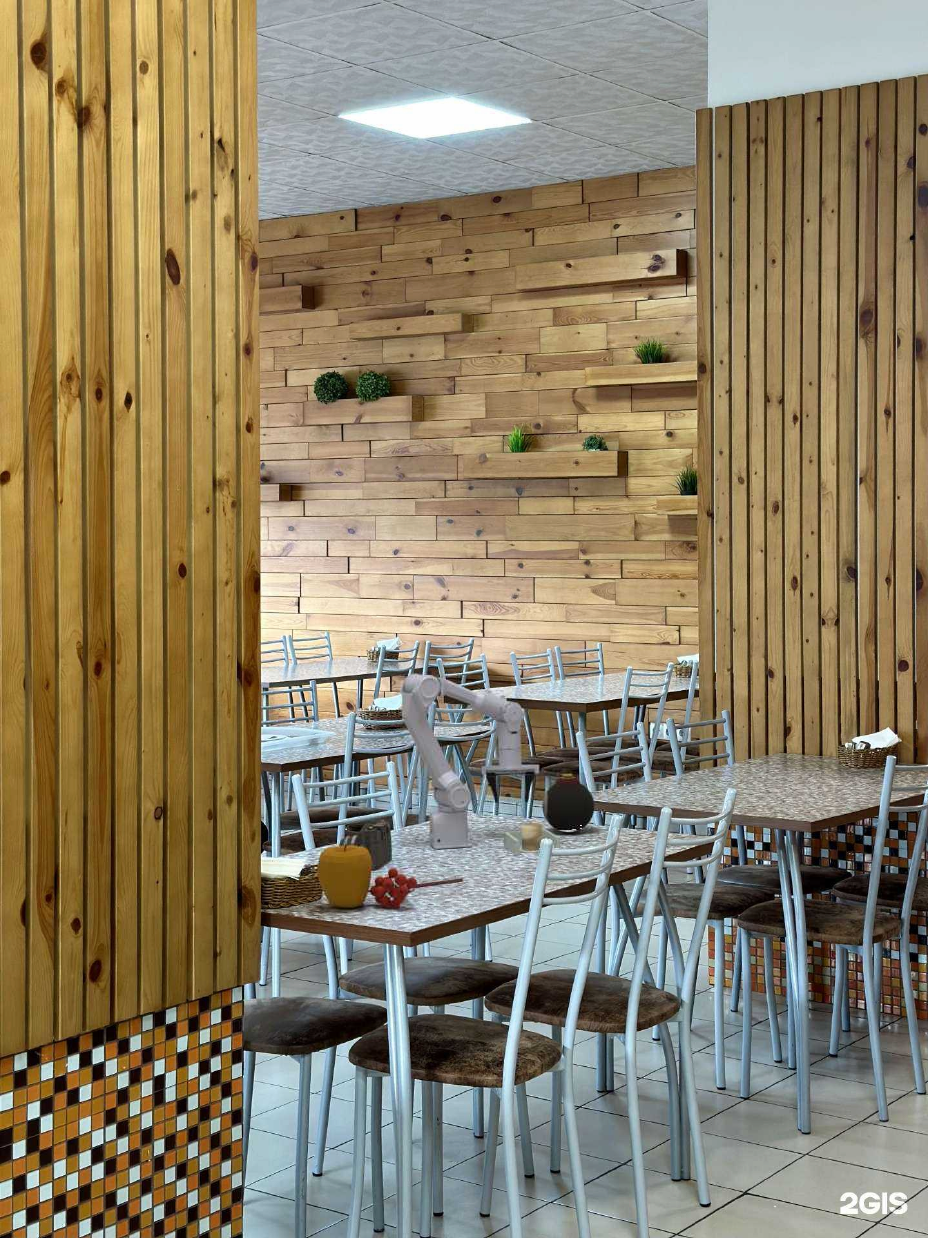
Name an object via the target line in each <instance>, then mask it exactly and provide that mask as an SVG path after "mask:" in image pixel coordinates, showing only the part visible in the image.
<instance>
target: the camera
mask: <svg viewBox="0 0 928 1238" xmlns="http://www.w3.org/2000/svg"><path fill="white" fill-rule="evenodd" d="M338 844H339V845H338V846H345V844H347V845H349V846H360V847H364V848H366V849H368V851H369V853H370V856H371V860H372V871H377V870H379V869H380V868H382V867H384V866H385V865H387V864H388V863H389V862H392V860H393V850H392V849H393V848H392V844H393V843H392V833H391V825H390V822H388V821H385V819H383V820H381V821H380V822H377V823H365V824H364V825H363V826H362V828H361V829H360V830H359V831H358V832H357V835H356V834H355V835H353V836H351V835H350V836H349V835H348V836H345V837H343V838H341V839H340V842H339V843H338Z"/></svg>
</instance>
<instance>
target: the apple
mask: <svg viewBox="0 0 928 1238" xmlns="http://www.w3.org/2000/svg"><path fill="white" fill-rule="evenodd" d="M372 871H373V870H372V860H371V856H370V853H369V851H368V849H366V848H364V847H360V846H349V845H347V844H345V846H339V845H337V846H328V847H325V849H323V850H322V851H321V852H320V855H319V857H318V862H317V872H316V873H317V877H318V881H319V884H320V885H319V886H320V887H321V890H322V892H323V894H324V896H325V897H326V899H327V900H328V902H329V903H328V904H330V905H332V906H333V907H337V908H338V907H339V908H345V909H346V908H347V909H349V908H350V909H352V908H356V907H362V905H364V903H365V902H366V899H367V896H368V893H369V892H368V890H370V888H371V881H372Z"/></svg>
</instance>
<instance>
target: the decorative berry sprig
mask: <svg viewBox="0 0 928 1238" xmlns="http://www.w3.org/2000/svg"><path fill="white" fill-rule="evenodd" d="M387 874H388V875H387V876H384V877H383V876H380V875H379V876H377V877H376V878H375V879H374V885H372V886H370V888H369V890H368V893H369V894H370V895H371V896H373V897H374V901H375V902H376V903H378V904H380V906H381V907H383V908H388V907H389V908H390V909H391V910H397V909H399V908H400V906H401V904H403V903H404V902H405V900H406V897H407V896H408V895H409V894H411V893H412V892H415V889H417V888H426V887H433V886H440V885H449V884H454V883H463V882H464V878H462V877H461V878H453V879H446V880H439V881H438V880H437V881H432V882H423V883H418V882H417V879H416V878H415V877H408V878H407V876H406V875H405V874H403V873H401V874H399V870H398V869H397V868H395V867H392V868H390V869H388V871H387ZM388 895H389V896H388ZM391 898H392V899H391Z"/></svg>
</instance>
